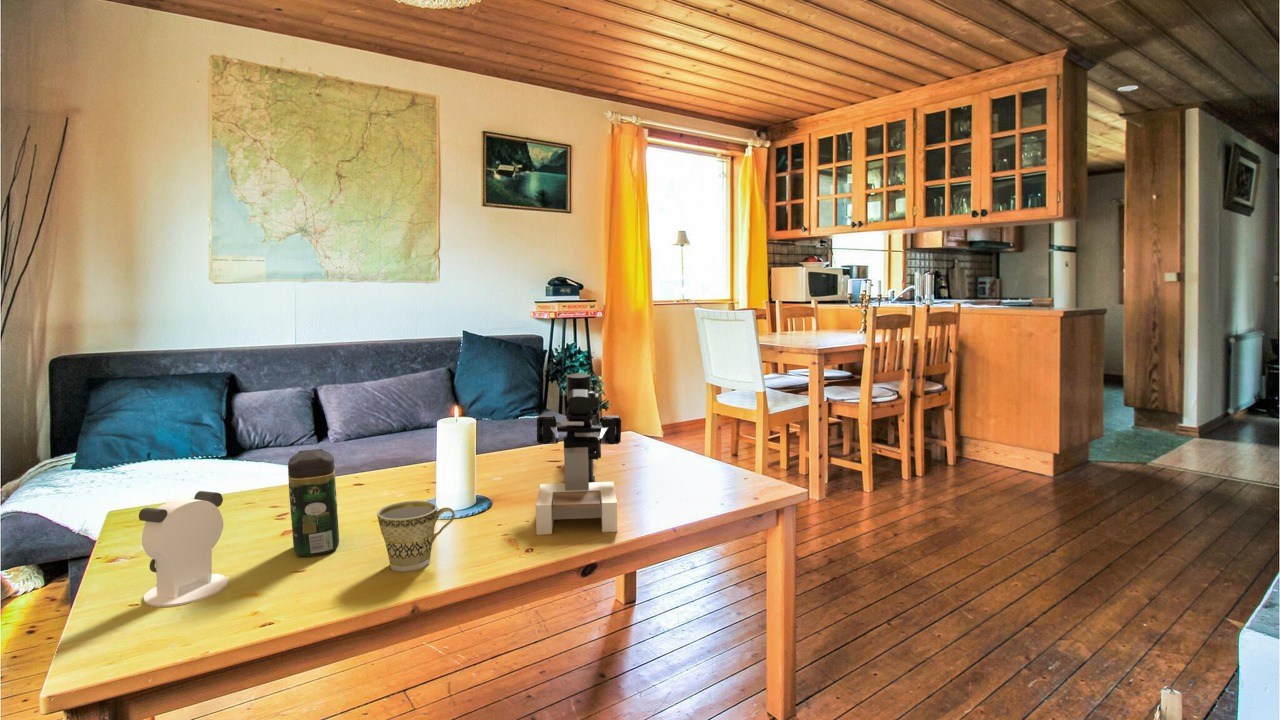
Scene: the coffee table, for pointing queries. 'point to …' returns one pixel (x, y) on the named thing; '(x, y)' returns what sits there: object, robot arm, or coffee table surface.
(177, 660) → the coffee table surface
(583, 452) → the stone
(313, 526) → the coffee jar
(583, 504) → the trapdoor
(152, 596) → the panda figurine
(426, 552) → the ceramic cup
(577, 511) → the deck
